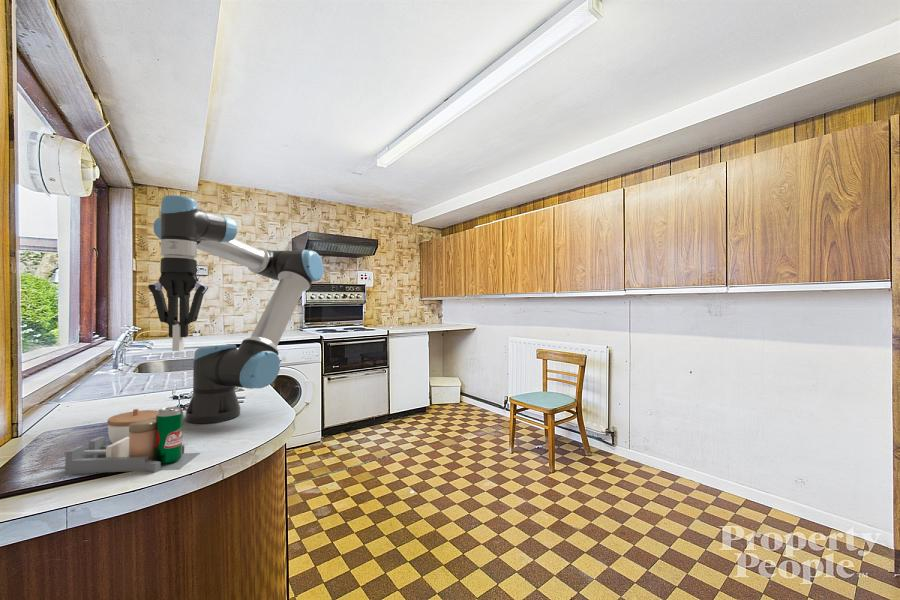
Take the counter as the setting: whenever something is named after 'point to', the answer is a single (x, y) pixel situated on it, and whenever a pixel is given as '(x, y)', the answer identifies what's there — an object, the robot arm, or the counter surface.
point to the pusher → (112, 449)
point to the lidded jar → (126, 423)
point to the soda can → (168, 435)
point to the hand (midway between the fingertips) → (178, 350)
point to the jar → (142, 438)
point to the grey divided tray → (116, 461)
